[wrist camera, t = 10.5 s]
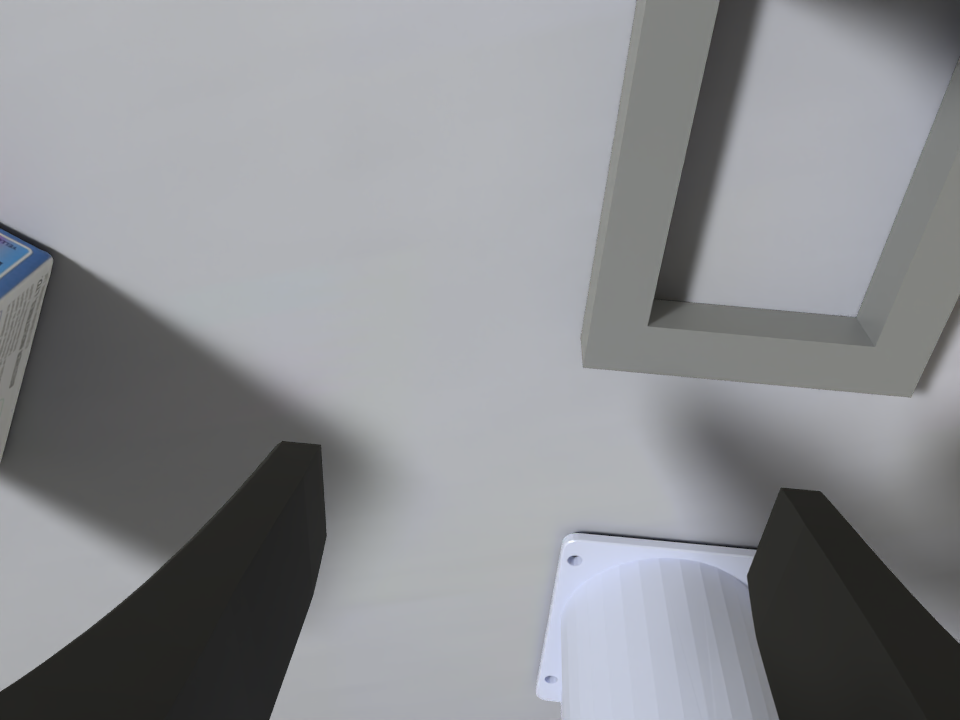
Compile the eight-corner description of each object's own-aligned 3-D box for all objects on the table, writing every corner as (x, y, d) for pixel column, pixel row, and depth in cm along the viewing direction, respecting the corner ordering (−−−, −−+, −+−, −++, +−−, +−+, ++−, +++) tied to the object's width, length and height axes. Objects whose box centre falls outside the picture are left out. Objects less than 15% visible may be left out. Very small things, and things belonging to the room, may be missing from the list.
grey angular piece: (890, 366, 23) (1059, 628, 15) (580, 338, 23) (599, 585, 16) (1139, -195, 15) (1707, -209, 8) (675, -232, 15) (801, -283, 8)
